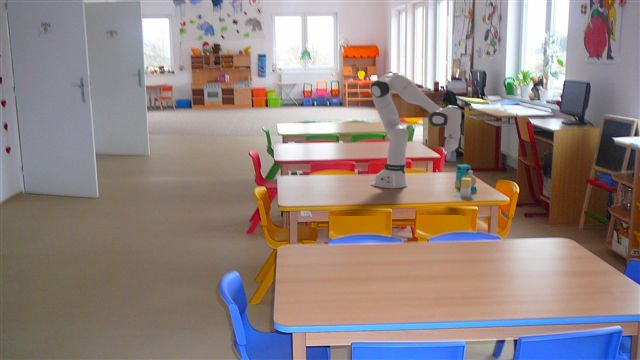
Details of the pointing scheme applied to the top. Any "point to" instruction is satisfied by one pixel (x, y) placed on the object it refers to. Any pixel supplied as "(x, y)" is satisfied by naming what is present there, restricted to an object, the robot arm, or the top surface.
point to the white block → (465, 192)
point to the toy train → (464, 174)
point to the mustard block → (466, 182)
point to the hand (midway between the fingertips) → (450, 157)
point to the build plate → (465, 196)
